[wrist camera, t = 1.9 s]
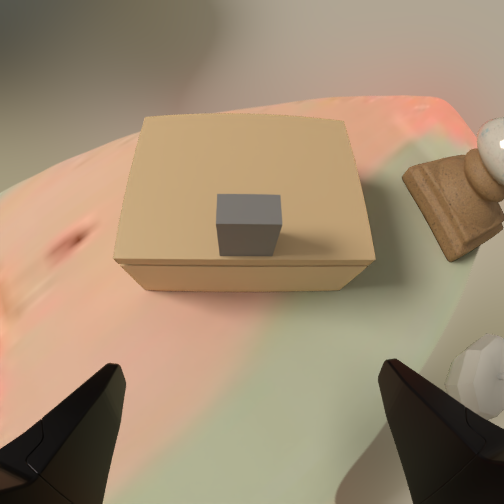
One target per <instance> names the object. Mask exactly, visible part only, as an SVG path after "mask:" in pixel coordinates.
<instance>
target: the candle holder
mask: <svg viewBox="0 0 504 504" xmlns="http://www.w3.org/2000/svg"><path fill="white" fill-rule="evenodd" d="M477 146H478V149H472V150H470V151H469V152H468V153H467V154H466V155H458V156H452V157H447V158H442V159H439V160H435V161H431V162H427V163H422V164H418V165H415V166H412V167H410V168H409V169H408V170H407V171H406V172H405V174H404V175H403V176H402V179H403V181H404V183H405V185H406V187H407V188H408V190H409V192H410V193H411V195H412V197H413V198H414V200H415V202H416V203H417V205H418V207H419V209H420V210H421V212H422V214H423V216H424V217H425V219H426V221H427V223H428V225H429V226H430V228H431V230H432V232H433V234H434V236H435V238H436V240H437V242H438V243H439V245H440V247H441V249H442V251H443V253H444V255H445V257H446V258H447V260H448V261H449V262H452V261H454V260H456V259H458V258H460V257H462V256H463V255H465V254H467V253H468V252H470V251H472V250H473V249H475V248H476V247H478V246H480V245H481V244H483V243H484V242H486V241H488V240H489V239H490V238H492V237H493V236H495V235H496V234H497V233H499V232H500V231H501V230H502V229H503V226H502V222H503V221H504V214H503V211H502V209H501V208H500V205H499V204H498V202H500V201H502V200H503V199H504V117H501V118H495V119H492V120H489V121H487V122H486V123H484V124H483V125H482V126H481V128H480V129H479V131H478V134H477Z"/></svg>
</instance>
